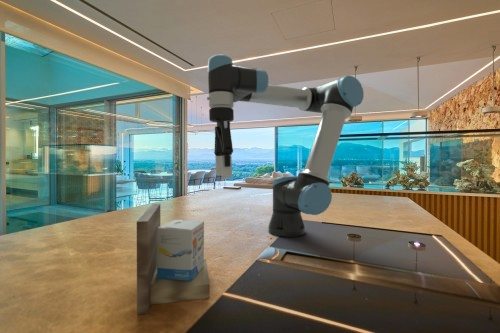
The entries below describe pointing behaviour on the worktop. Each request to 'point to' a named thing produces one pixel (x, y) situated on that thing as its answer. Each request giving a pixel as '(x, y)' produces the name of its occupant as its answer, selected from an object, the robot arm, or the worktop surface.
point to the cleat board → (147, 281)
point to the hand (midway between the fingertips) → (223, 176)
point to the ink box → (180, 250)
